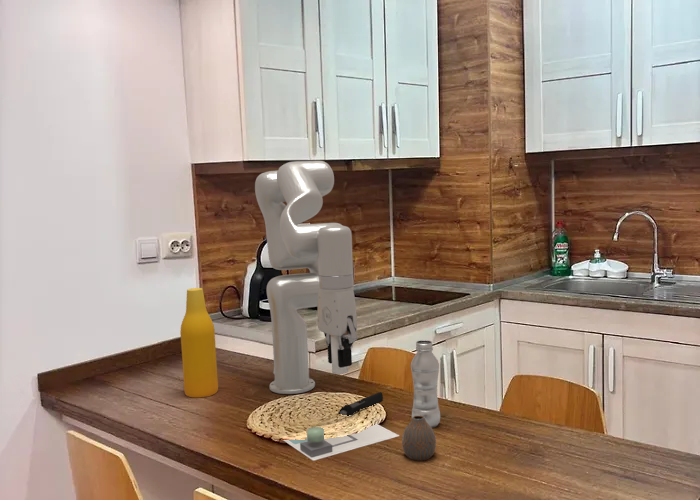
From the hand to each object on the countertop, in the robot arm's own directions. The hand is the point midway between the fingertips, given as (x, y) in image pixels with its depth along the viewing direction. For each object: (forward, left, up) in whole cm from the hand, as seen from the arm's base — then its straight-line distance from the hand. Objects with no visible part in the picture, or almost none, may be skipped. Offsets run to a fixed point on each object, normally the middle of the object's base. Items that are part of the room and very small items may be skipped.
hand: (340, 363), depth 156 cm
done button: (+4, -9, -14) cm, 17 cm away
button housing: (+4, -9, -17) cm, 19 cm away
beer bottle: (-52, -14, -17) cm, 57 cm away
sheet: (0, -1, -17) cm, 17 cm away
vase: (+19, +7, -17) cm, 27 cm away
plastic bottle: (+6, +19, -17) cm, 26 cm away
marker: (0, 0, -2) cm, 2 cm away
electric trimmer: (-13, +13, -18) cm, 26 cm away
